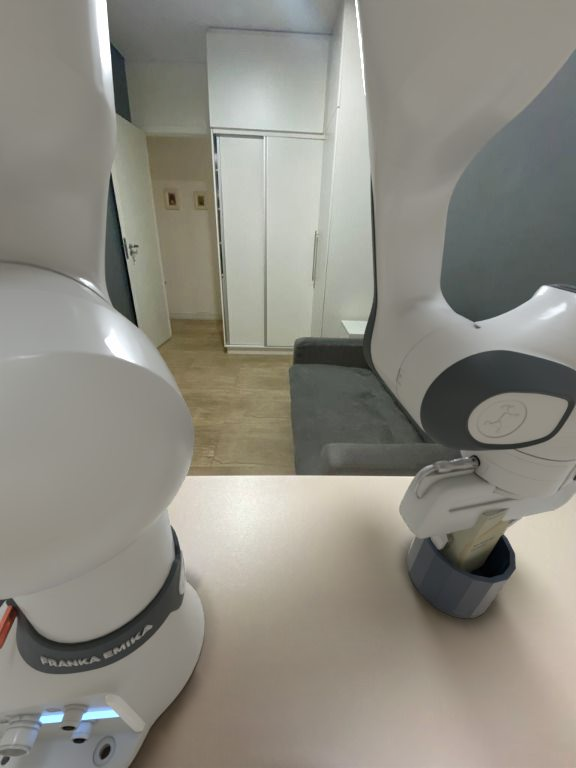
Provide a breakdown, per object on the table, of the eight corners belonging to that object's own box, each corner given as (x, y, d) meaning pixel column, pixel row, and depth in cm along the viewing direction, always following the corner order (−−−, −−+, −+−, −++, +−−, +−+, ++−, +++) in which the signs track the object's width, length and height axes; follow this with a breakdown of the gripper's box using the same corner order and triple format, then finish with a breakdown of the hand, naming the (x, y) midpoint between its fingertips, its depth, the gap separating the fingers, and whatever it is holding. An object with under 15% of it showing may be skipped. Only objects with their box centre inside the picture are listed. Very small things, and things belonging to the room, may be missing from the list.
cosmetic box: (449, 584, 38) (487, 519, 32) (422, 552, 41) (451, 488, 35) (484, 565, 40) (525, 501, 34) (455, 536, 43) (488, 473, 37)
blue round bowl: (438, 628, 36) (461, 591, 32) (392, 546, 45) (405, 509, 41) (509, 607, 39) (538, 571, 35) (452, 533, 47) (470, 497, 44)
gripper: (446, 491, 26) (406, 581, 33) (619, 461, 31) (553, 545, 38) (405, 443, 31) (378, 529, 38) (558, 423, 36) (509, 503, 43)
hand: (466, 537), depth 38 cm, fingers closed on cosmetic box, 6 cm apart
